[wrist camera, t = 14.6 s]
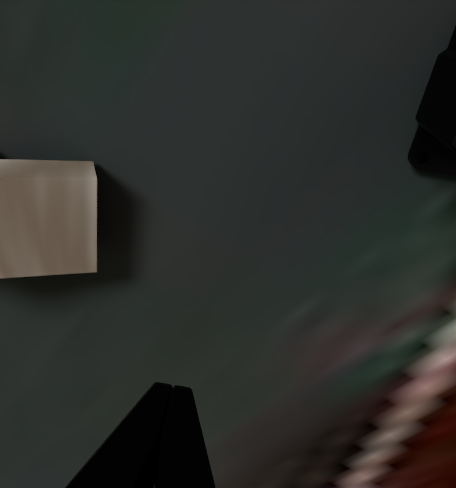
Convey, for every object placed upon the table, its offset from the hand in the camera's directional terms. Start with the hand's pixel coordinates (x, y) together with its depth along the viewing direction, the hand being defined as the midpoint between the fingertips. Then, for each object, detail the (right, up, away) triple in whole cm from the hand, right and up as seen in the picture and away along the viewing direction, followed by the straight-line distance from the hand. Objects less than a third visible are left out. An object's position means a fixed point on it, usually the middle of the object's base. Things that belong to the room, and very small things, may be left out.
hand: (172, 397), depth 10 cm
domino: (-5, +5, +11) cm, 13 cm away
